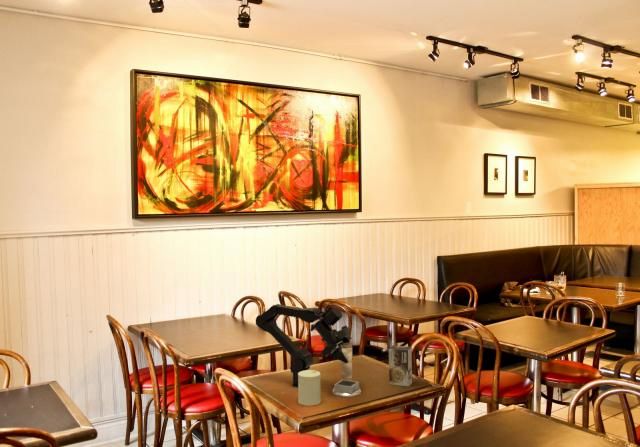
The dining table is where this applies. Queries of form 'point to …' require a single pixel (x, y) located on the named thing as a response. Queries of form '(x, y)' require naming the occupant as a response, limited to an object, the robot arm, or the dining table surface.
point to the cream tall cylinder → (348, 366)
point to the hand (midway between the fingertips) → (349, 361)
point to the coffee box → (400, 365)
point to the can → (309, 387)
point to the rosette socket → (346, 388)
